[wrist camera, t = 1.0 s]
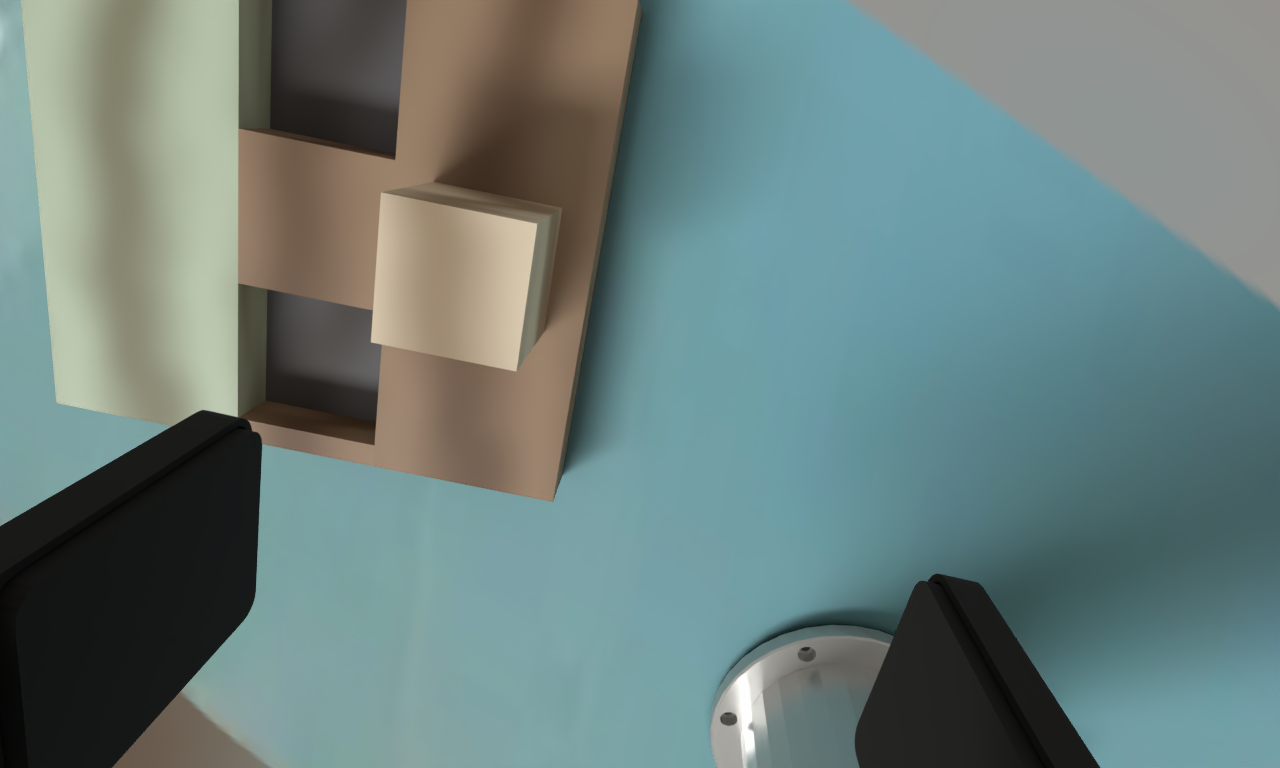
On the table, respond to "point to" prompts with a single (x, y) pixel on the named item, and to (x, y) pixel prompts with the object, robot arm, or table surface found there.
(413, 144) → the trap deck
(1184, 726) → the table surface
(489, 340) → the maple block
